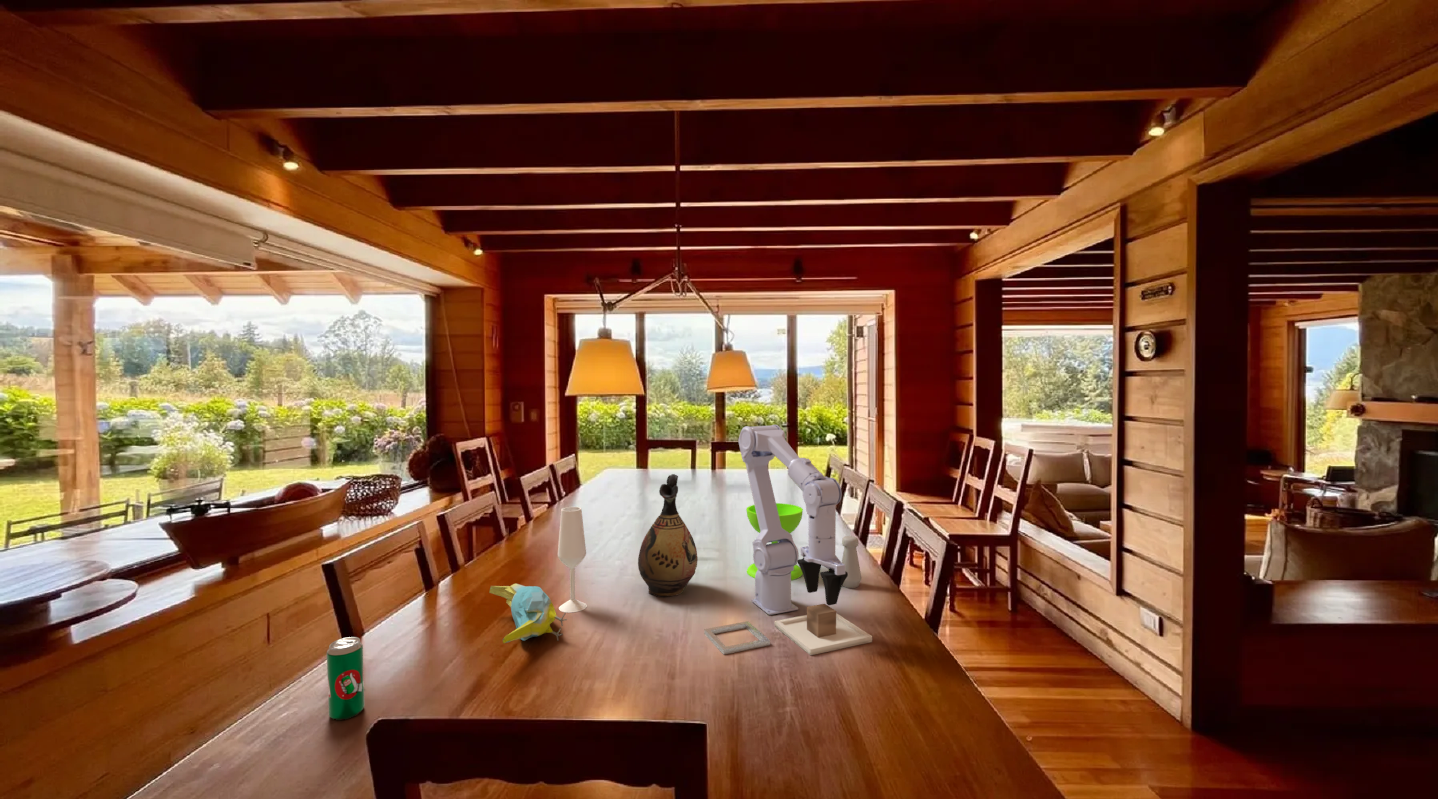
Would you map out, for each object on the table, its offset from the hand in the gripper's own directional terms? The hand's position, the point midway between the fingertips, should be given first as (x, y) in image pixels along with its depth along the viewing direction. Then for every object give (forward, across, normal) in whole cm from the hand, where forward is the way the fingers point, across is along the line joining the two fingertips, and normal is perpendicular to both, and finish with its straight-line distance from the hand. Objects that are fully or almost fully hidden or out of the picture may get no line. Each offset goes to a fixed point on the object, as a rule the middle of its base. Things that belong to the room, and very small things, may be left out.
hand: (821, 597), depth 128 cm
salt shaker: (+8, -22, +23) cm, 33 cm away
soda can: (+8, -6, -89) cm, 90 cm away
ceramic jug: (+8, -39, -22) cm, 45 cm away
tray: (+8, 0, 0) cm, 8 cm away
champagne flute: (+8, -37, -47) cm, 60 cm away
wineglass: (+8, -40, +10) cm, 42 cm away
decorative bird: (+8, -27, -62) cm, 68 cm away
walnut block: (+7, 0, 0) cm, 7 cm away
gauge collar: (+8, -5, -18) cm, 20 cm away
